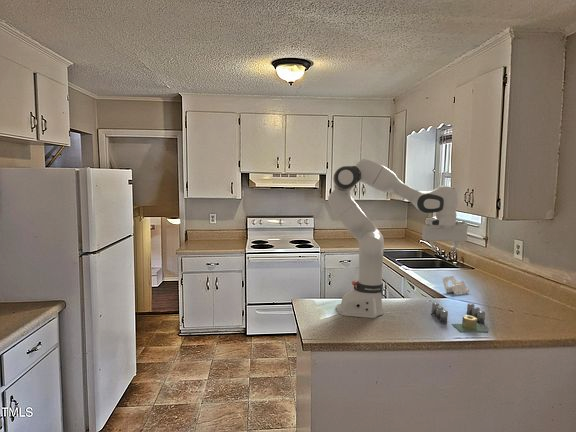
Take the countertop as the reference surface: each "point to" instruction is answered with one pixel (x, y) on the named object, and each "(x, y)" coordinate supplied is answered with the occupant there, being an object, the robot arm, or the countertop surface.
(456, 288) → the mounting bracket
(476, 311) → the spacer rows
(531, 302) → the countertop surface
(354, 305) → the robot arm
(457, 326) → the rubber mat
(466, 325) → the brass nut
